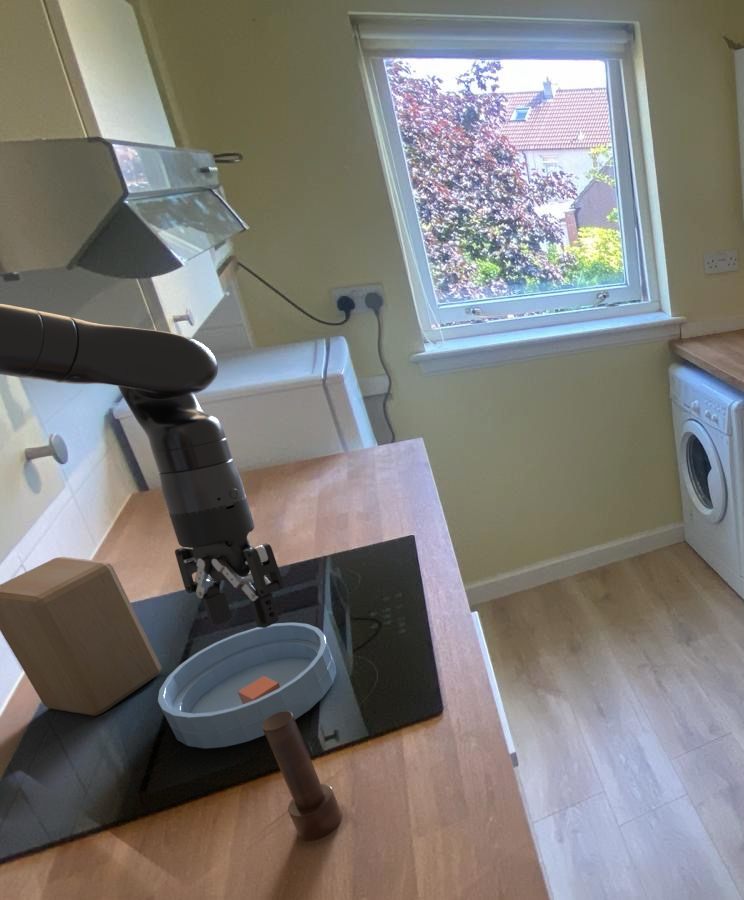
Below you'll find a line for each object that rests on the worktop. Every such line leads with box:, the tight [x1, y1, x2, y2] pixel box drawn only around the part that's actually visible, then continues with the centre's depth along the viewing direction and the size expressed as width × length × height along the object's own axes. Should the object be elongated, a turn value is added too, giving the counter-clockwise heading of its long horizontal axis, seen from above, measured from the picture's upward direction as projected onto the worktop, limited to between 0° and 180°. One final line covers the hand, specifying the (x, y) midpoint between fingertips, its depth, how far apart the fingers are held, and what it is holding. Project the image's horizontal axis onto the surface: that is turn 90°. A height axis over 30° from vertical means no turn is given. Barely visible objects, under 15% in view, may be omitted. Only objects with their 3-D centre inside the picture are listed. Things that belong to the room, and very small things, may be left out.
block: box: [238, 676, 280, 704], centre depth 102 cm, size 4×4×4 cm
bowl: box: [157, 621, 338, 749], centre depth 104 cm, size 19×19×6 cm
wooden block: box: [0, 556, 163, 717], centre depth 103 cm, size 10×10×20 cm
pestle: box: [262, 711, 343, 842], centre depth 82 cm, size 4×4×16 cm
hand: (245, 623), depth 92 cm, fingers open, 8 cm apart
